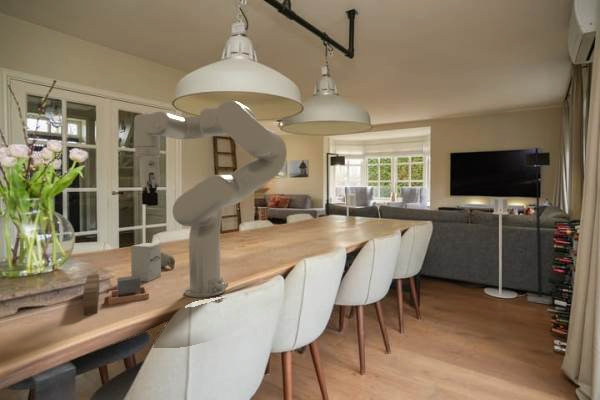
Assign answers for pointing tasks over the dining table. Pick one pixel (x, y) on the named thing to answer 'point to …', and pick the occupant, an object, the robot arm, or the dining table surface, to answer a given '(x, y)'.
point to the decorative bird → (167, 260)
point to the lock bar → (128, 286)
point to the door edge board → (91, 294)
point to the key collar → (128, 298)
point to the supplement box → (146, 261)
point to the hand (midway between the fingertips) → (149, 204)
